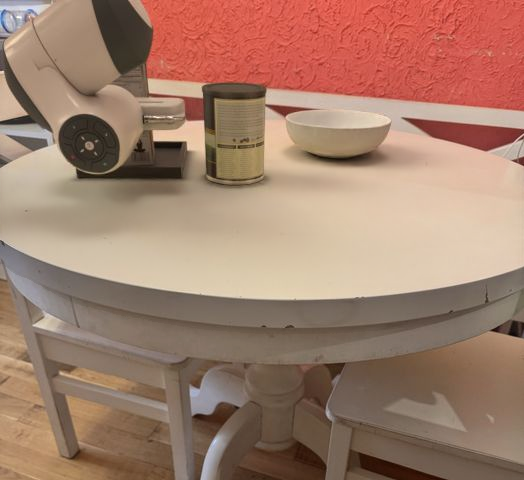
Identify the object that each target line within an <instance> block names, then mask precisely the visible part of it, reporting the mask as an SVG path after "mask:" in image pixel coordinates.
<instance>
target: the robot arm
mask: <svg viewBox="0 0 524 480" xmlns="http://www.w3.org/2000/svg"><path fill="white" fill-rule="evenodd" d="M154 31H155V30H154V27H153V24H152V22H151V18H150V16H149V13H148V11H147V9H146V8H145V6H144V4H143V2H142V1H141V0H55V1H54V2H52V3H51V4H50V5H49V6H48V7H46V8H45V9H43V11H41V12H40V13H39V14H37V15H36V16H35V17H32V18H31V19H29V20H28V21H27V22H26V23H24V24H23V25H21V26H20V27H19V28H17V30H15V31H14V32H13V33H11V34H10V35H9V36H8V37H7V38H6V39H4V40H2V41H3V42H2V44H1V45H2V46H1V62H2V69H3V74H4V78H5V82H6V84H7V87H8V89H9V90H10V92H11V94H12V95H13V97H14V98H15V101H17V103H18V104H19V105H20V106H21V108H22V109H23V110H24V112H25V113H26V114H27V115H28V116H29V117H30V118H31V119H32V120H33V121H34V122H35V123H36V124H37V125H38V126H39V127H40V128H42V129H44V130H46V131H47V132H49V133H51V134H53V136H54V140H55V144H56V147H57V148H58V151H59V152H60V154H61V155H62V157H63V158H64V159H65V161H66V162H67V163H68V164H69V165H70V166H71V167H74V168H75V169H76V168H77V169H79V170H81V171H83V172H86V173H90V174H104V173H108V172H111V171H114V170H115V169H117V168H118V167H120V166H121V165H122V164H123V163H124V162H125V161H126V160H127V159H128V157H129V156H130V154H131V153H132V151H133V149H134V147H135V146H136V144H137V142H138V141H139V139H140V137H141V135H142V133H143V130H153V131H174V130H178V129H180V128H182V127H183V126H184V125H185V123H186V104H185V103H186V102H185V100H184V99H183V98H181V97H149V98H145V97H134V96H133V95H132V94H131V93H130V92H129V91H127V90H126V89H124V88H122V87H119V86H116V85H108V84H110V83H111V82H113V81H114V80H115V79H117V78H118V77H120V76H121V75H122V76H123V75H125V74H127V73H129V72H131V71H133V70H134V69H136V68H138V67H140V66H142V65H143V64H145V63H146V64H147V62H148V60H149V57H150V53H151V51H152V46H153V40H154Z"/></svg>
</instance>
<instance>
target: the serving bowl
mask: <svg viewBox="0 0 524 480" xmlns="http://www.w3.org/2000/svg"><path fill="white" fill-rule="evenodd" d="M391 125H392V119H391V118H390V117H389V116H386V115H383V114H379V113H376V112H370V111H364V110H363V111H361V110H355V109H354V110H352V109H310V110H301V111H300V110H299V111H296V112H291V113H288V114H287V115H285V127H286V132H287V135H288V137H289V138H290V140H291V142H292V143H293V145H295V146H296V147H297V148H299V149H301V150H303V151H304V152H307V153H310V154H313V155H315V156H318V157H321V158H326V159H350V158H353V157H354V158H355V157H357V156H360V155H365V154H367V153H370V152H372V151H374V150H376V149H377V148H379V147H380V146H381V145H382V144H383V143H384V141H385V140H386V138H387V136H388V134H389V132H390V129H391Z"/></svg>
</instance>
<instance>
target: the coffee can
mask: <svg viewBox="0 0 524 480" xmlns="http://www.w3.org/2000/svg"><path fill="white" fill-rule="evenodd" d="M267 88H268V87H266V86H265V85H262V84H258V83H251V82H235V81H233V82H231V81H229V82H226V81H225V82H212V83H206V84H204V85H202V86H201V92H202V103H203V104H202V105H203V106H202V108H203V125H204V126H203V127H204V153H205V154H204V155H205V178H206V179H207V180H208V181H210V182H212V183H215V184H219V185H227V186H242V185H251V184H252V185H253V184H255V183H259V182H261V181H262V180H263V179H264V178H265V134H266V97H267V96H266V95H267V92H268V91H267V90H268V89H267Z"/></svg>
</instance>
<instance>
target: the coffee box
mask: <svg viewBox="0 0 524 480" xmlns="http://www.w3.org/2000/svg"><path fill="white" fill-rule="evenodd" d="M148 80H149V79H148V71H147V62H146V63H145V64H143V65H142V66H140V67H138V68H136V69H134V70H133V71H131V72H129V73H127V74H125V75H123V76H122V75H121V76H120V77H118V78H117V79H115V80H114V81H113V82H111V83H110V84H108V85H116V86H119V87H122V88H124V89H126V90H127V91H129V92H130V93H131V94H132V95H133V96H134V97H145V98H150V90H149V81H148ZM153 131H154V130H143V133H142V135H141V137H140V139H139V141H138V142H137V144H136V146H135V147H134V149H133V151H132V153H131V154H130V156H129V157H128V159H127V160H126V161H125V162H124V163H123V164H122V165H121V166H140V165H153V164H154V155H155V151H154V141H155V140H154V132H153Z"/></svg>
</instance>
